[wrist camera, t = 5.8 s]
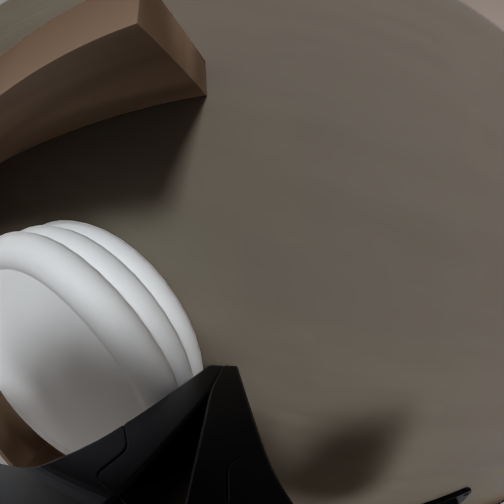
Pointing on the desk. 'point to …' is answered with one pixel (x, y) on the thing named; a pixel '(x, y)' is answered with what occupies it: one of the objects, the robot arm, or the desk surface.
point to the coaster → (86, 332)
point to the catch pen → (87, 107)
